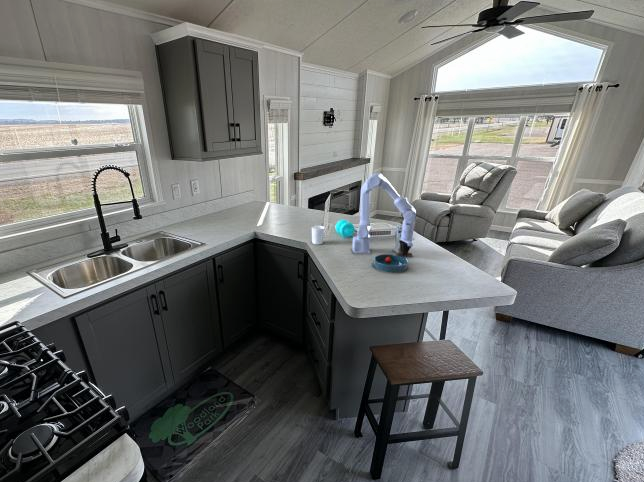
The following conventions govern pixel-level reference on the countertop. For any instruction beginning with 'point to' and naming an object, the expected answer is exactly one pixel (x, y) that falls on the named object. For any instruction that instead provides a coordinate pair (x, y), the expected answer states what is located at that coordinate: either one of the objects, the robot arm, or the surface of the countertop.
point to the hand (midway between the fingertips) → (404, 254)
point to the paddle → (402, 254)
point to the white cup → (317, 234)
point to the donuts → (345, 228)
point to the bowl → (394, 266)
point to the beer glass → (398, 238)
